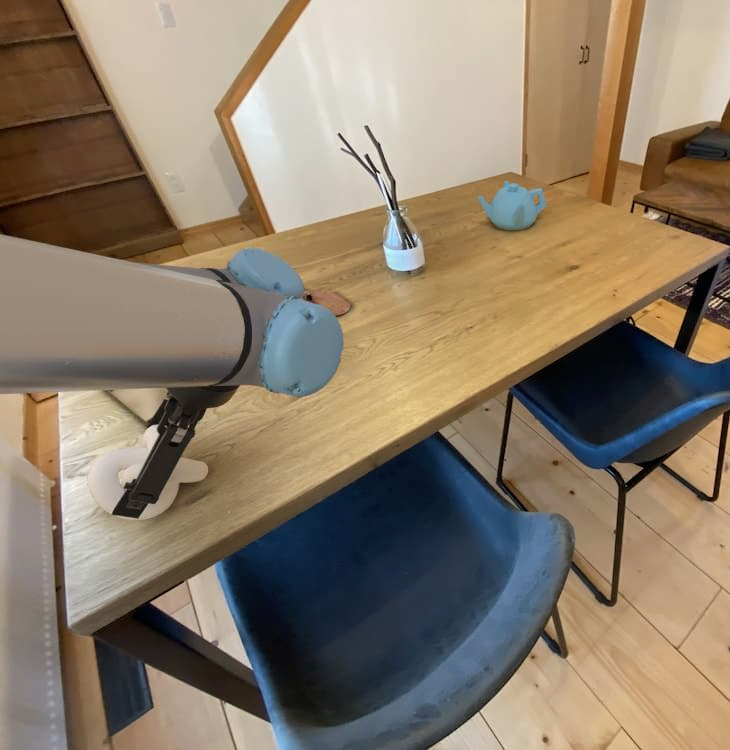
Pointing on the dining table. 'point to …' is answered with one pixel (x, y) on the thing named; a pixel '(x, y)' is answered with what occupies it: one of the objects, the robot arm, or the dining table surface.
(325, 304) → the clay slab
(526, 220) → the teapot
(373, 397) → the dining table surface
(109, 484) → the white knot sculpture
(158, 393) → the board
